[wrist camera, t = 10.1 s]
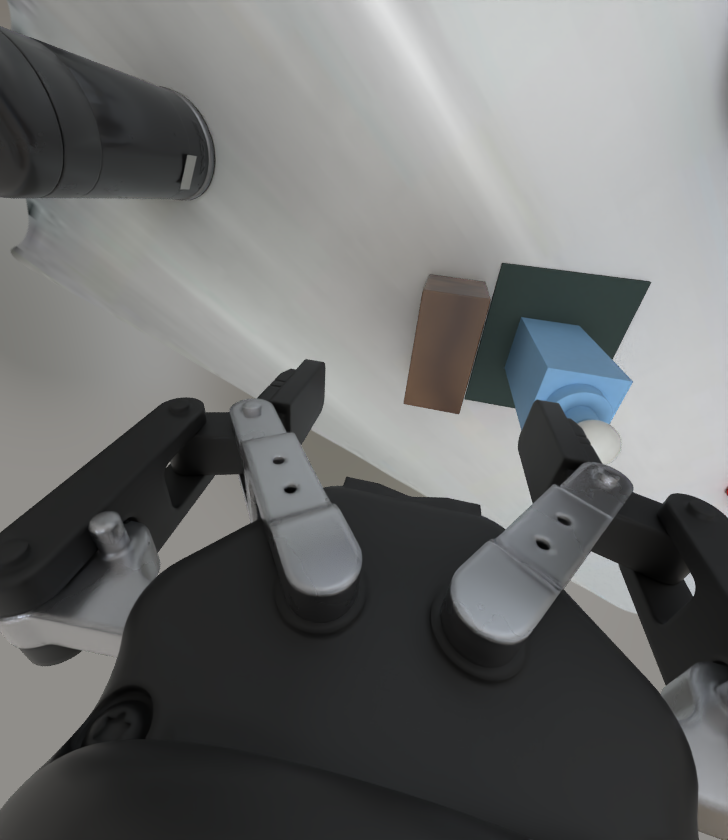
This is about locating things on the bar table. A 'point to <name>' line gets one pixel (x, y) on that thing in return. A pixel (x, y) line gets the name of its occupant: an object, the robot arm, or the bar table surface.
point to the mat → (549, 317)
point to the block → (446, 342)
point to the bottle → (567, 379)
